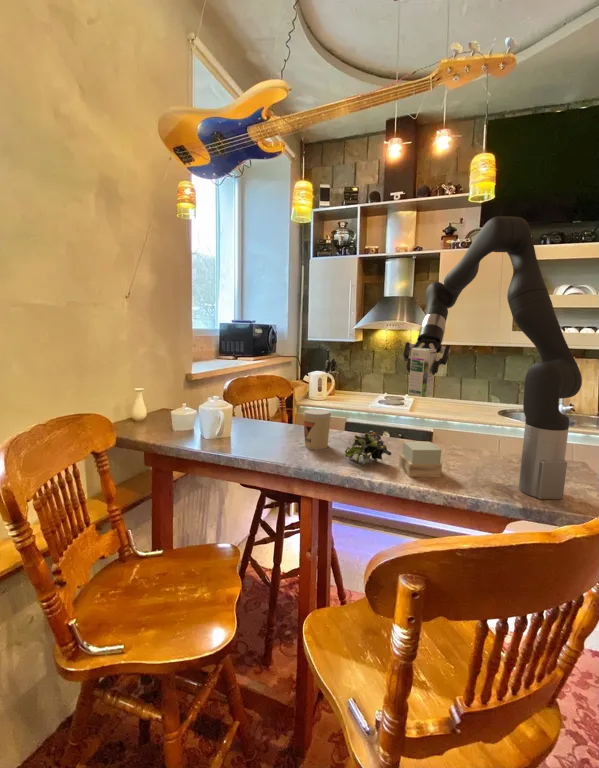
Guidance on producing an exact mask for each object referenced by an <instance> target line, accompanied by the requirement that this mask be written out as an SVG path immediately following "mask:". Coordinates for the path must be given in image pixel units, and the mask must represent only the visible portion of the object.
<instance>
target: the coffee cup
mask: <svg viewBox="0 0 599 768" xmlns="http://www.w3.org/2000/svg"><path fill="white" fill-rule="evenodd" d="M302 415H303V432H304V433H303V435H304V446H305V447H306V448H307V449H311V450H323V449H326V448H328V446H329V445H328V444H329V435H330V427H331V425H330V424H331V417H332V413H331V411H330V410H329V409H323V408H322V409H321V408H311V409H310V408H309V409H308V408H307V409H305V410H304V411H303V413H302Z"/></svg>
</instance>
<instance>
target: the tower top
mask: <svg viewBox="0 0 599 768" xmlns="http://www.w3.org/2000/svg"><path fill="white" fill-rule="evenodd" d="M401 454H402V455H403V456H404V457H405V458H406V459H407V460H408V461H409V462H410V463H411V464H440V463H441V460H442V459H441V458H442V455H441V454H442V449H441V448H440V447H438V446H437V445H435V444H434V443H432V442H431V441H403V442H402V453H401Z"/></svg>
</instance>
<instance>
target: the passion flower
mask: <svg viewBox="0 0 599 768" xmlns="http://www.w3.org/2000/svg"><path fill="white" fill-rule="evenodd" d="M353 439H354V440H353V441H354V443H353V444H352V445H351V447H349V446H348V447H346V449H345V450H344V453H345V456H344V457H346V458H348V459H349V460H350V459H352V458H353V457H354V455H356V458H355V460H356V461H357V462H359V461H360V457H361V455H362V460H363V462H362V465H361V466H362V467H363V466H364V465H365V463H366V462H367V461H368V459H370V458H371V459H373V460H374V461H377V460H383V454H386V455H387V456H392V452H391V451H389V450H388V449H387V445H385V441H384V440H382V436H381V435H380V434H379V433H378V434H377V433H376V432H366V433H365V434H362V435H356V434H354V438H353Z"/></svg>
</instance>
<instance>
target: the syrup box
mask: <svg viewBox="0 0 599 768" xmlns="http://www.w3.org/2000/svg"><path fill="white" fill-rule="evenodd" d="M436 350H437V349H426V348H413V349H412V350H411V351H410V352H411V354H410V355H411V365H410V372H409V380H408V390H407V394H408V395H411V396H417V397H421V398H426V397H429V396H431V395H433V393H434V392H433V391H434V380H435V379H434V378H435V375H432V369H433V365H434V361H435V356H436Z"/></svg>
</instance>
